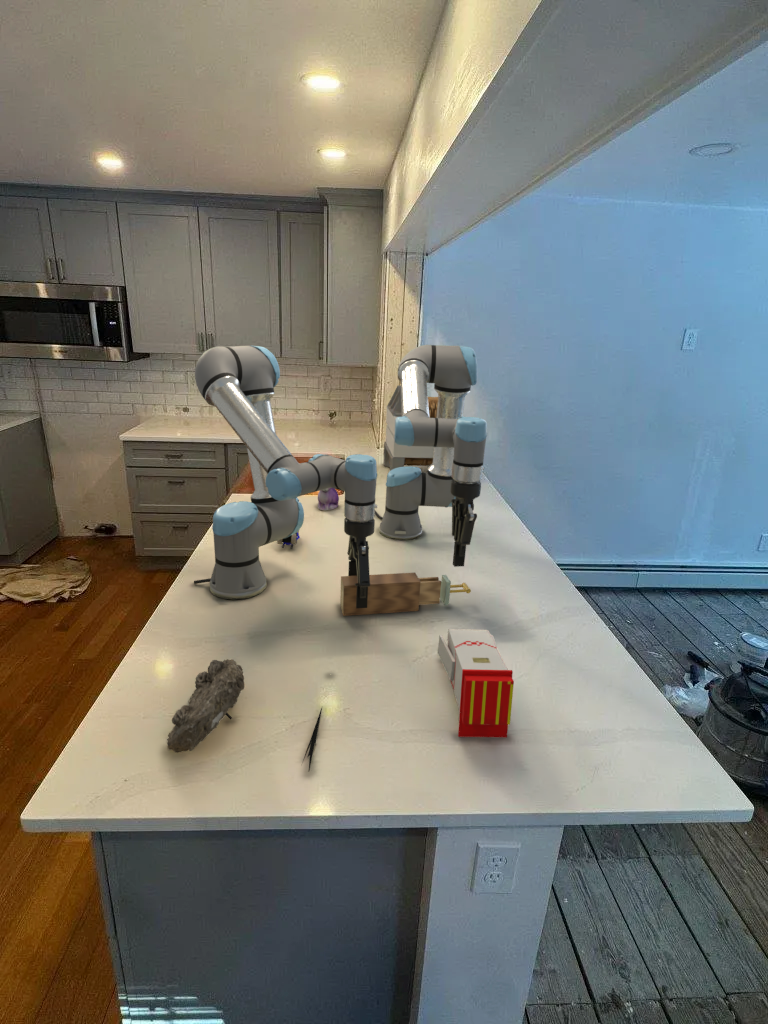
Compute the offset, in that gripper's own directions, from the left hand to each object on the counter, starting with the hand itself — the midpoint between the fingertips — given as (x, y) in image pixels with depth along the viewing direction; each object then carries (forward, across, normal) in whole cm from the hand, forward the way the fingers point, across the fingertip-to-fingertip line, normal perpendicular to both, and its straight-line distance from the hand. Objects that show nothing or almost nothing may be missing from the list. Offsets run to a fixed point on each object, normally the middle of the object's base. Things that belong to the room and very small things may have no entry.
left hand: (357, 595), depth 147 cm
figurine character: (+4, +46, +15) cm, 49 cm away
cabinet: (+4, 0, -6) cm, 7 cm away
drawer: (+3, 0, -18) cm, 18 cm away
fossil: (+4, -37, +34) cm, 50 cm away
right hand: (-7, 0, -27) cm, 28 cm away
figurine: (+4, +81, -2) cm, 81 cm away
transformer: (+4, +126, -51) cm, 136 cm away
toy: (+4, -37, -18) cm, 41 cm away
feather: (+4, -40, +14) cm, 43 cm away
